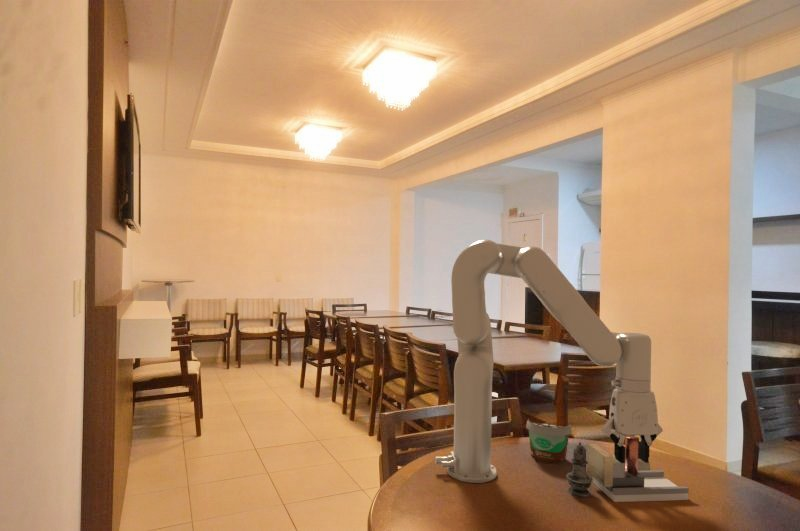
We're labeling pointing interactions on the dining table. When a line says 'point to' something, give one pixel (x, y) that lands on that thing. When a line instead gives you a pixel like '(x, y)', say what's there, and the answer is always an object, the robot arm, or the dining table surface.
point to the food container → (548, 442)
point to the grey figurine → (579, 474)
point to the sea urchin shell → (642, 464)
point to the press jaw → (616, 466)
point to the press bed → (648, 489)
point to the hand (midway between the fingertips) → (631, 460)
